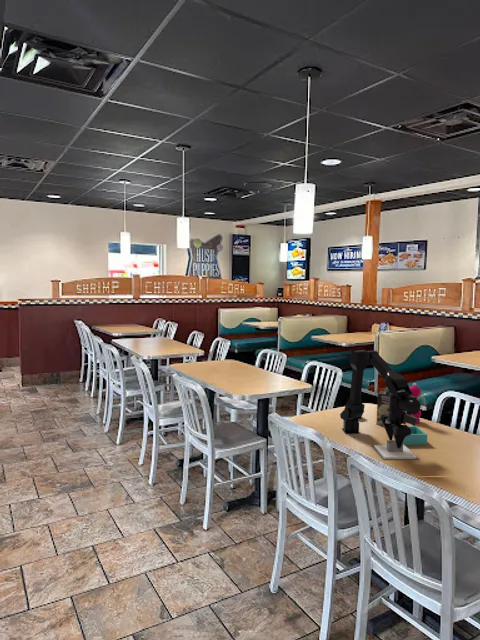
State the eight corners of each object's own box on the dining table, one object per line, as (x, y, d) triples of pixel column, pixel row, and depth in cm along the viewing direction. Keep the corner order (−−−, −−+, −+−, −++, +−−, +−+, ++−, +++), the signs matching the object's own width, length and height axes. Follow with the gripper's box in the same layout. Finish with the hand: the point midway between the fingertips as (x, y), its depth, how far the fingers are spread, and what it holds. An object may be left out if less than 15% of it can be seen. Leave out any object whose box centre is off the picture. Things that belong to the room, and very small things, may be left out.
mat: (382, 461, 180) (382, 460, 180) (370, 447, 195) (370, 445, 195) (420, 460, 180) (420, 459, 180) (405, 446, 195) (405, 445, 195)
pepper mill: (422, 424, 225) (423, 385, 223) (406, 423, 226) (408, 384, 224) (419, 419, 232) (421, 381, 230) (404, 418, 233) (406, 381, 231)
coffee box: (375, 424, 224) (376, 392, 223) (379, 421, 230) (380, 390, 228) (394, 427, 220) (395, 395, 218) (397, 424, 225) (399, 392, 223)
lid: (384, 459, 181) (384, 447, 180) (373, 446, 194) (374, 435, 193) (416, 458, 181) (417, 447, 181) (403, 446, 194) (404, 435, 194)
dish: (402, 445, 196) (402, 434, 196) (392, 436, 207) (393, 426, 207) (426, 445, 197) (427, 434, 196) (416, 436, 208) (416, 426, 207)
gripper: (425, 414, 177) (423, 452, 178) (406, 401, 195) (405, 436, 197) (397, 414, 176) (395, 452, 178) (381, 401, 195) (379, 436, 196)
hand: (394, 444), depth 187 cm, fingers open, 9 cm apart
